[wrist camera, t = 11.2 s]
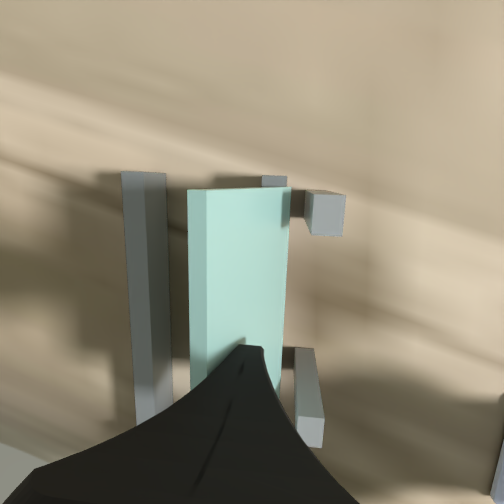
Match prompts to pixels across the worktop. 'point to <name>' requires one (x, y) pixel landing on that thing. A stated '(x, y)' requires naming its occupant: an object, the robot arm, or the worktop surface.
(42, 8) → the worktop surface
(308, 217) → the grey frame
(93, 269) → the worktop surface
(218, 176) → the worktop surface
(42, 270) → the worktop surface
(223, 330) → the cover
